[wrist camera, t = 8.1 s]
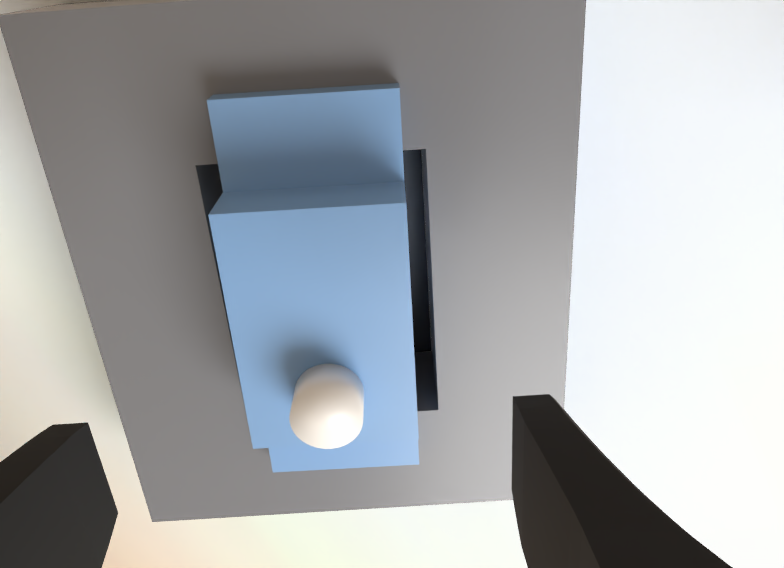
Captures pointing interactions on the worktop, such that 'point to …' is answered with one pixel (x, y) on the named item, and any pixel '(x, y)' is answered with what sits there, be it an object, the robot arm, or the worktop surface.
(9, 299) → the worktop surface
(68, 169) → the chassis
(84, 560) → the robot arm
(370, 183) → the servo
